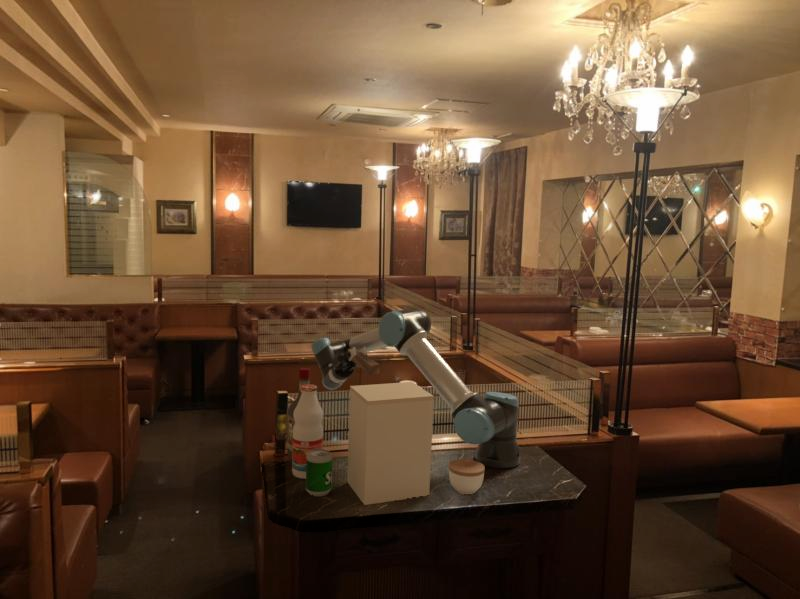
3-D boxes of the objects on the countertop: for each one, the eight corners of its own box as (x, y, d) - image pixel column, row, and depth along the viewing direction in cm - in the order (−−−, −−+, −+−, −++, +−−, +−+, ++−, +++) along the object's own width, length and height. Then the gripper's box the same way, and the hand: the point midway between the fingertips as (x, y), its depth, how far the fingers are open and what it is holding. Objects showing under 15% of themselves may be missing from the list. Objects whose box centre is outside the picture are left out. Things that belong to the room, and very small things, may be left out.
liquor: (309, 449, 213) (311, 364, 209) (321, 458, 206) (323, 370, 202) (284, 454, 208) (286, 367, 204) (295, 463, 201) (297, 373, 197)
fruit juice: (325, 468, 197) (327, 383, 194) (317, 480, 188) (319, 391, 184) (297, 466, 199) (298, 381, 195) (287, 477, 189) (289, 389, 186)
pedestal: (407, 474, 195) (411, 381, 192) (429, 495, 181) (433, 396, 177) (347, 482, 188) (350, 386, 184) (364, 505, 173) (367, 401, 169)
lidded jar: (482, 484, 190) (484, 455, 189) (484, 499, 180) (485, 468, 178) (447, 481, 191) (449, 452, 190) (447, 496, 181) (448, 466, 179)
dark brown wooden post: (355, 357, 216) (355, 348, 215) (379, 374, 194) (379, 364, 193) (347, 357, 215) (347, 349, 214) (370, 374, 193) (370, 365, 192)
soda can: (320, 500, 175) (321, 459, 174) (300, 493, 179) (301, 453, 178) (336, 490, 182) (337, 451, 180) (316, 484, 186) (317, 445, 184)
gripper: (363, 379, 228) (384, 360, 208) (321, 381, 222) (338, 362, 202) (360, 359, 231) (380, 339, 211) (318, 361, 225) (335, 341, 205)
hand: (359, 350), depth 207 cm, fingers closed on dark brown wooden post, 3 cm apart
